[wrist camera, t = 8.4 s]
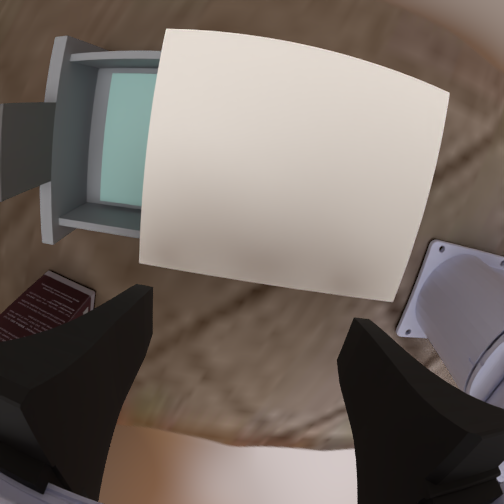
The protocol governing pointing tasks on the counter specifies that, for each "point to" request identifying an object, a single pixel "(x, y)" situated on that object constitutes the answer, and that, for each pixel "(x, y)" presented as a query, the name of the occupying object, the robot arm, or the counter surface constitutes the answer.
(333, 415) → the counter surface
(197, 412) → the counter surface
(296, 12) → the counter surface
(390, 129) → the sleeve
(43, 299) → the supplement box
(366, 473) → the robot arm
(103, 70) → the tray
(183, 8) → the counter surface
